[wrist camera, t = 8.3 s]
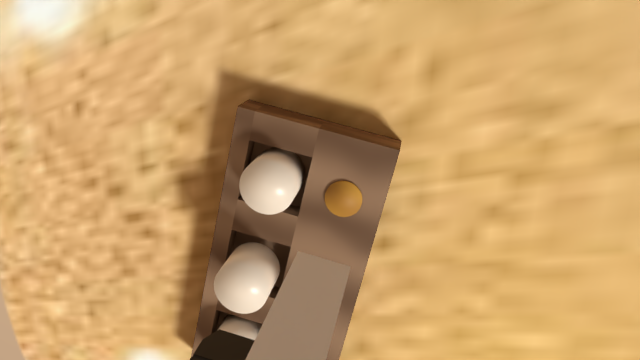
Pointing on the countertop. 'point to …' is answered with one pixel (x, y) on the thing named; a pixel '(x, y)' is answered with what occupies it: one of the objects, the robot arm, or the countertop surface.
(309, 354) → the robot arm
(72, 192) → the countertop surface
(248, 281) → the button
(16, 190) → the countertop surface
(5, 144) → the countertop surface
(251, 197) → the button
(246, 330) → the button
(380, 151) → the board
